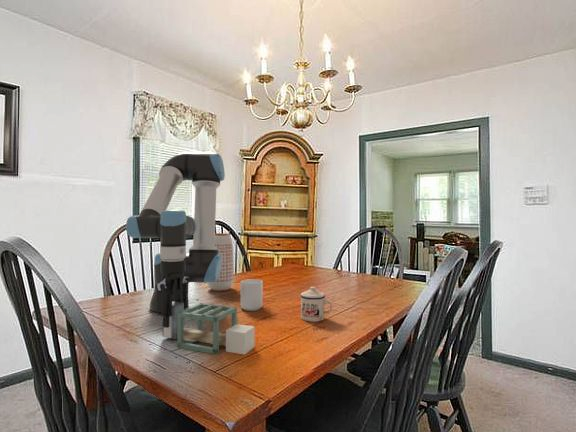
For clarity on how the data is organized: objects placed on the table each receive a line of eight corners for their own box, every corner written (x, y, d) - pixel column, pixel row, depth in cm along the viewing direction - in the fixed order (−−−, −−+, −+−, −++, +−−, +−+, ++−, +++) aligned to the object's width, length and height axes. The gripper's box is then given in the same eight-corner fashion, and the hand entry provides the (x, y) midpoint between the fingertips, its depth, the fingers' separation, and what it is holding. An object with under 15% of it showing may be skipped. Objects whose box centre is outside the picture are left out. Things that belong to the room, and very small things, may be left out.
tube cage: (177, 347, 104) (177, 312, 103) (200, 334, 114) (200, 303, 114) (216, 354, 99) (216, 317, 99) (236, 340, 109) (236, 307, 109)
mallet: (162, 336, 110) (162, 304, 110) (170, 332, 114) (170, 301, 114) (227, 347, 102) (227, 312, 101) (234, 342, 105) (234, 308, 105)
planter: (231, 292, 173) (231, 234, 173) (204, 292, 174) (204, 234, 173) (235, 286, 187) (235, 233, 186) (210, 286, 187) (210, 232, 187)
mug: (255, 312, 140) (255, 284, 140) (236, 309, 143) (236, 282, 143) (269, 305, 151) (269, 278, 151) (251, 302, 154) (251, 277, 154)
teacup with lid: (297, 320, 130) (297, 288, 129) (304, 313, 138) (304, 283, 138) (329, 324, 125) (329, 291, 125) (335, 317, 134) (335, 286, 134)
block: (225, 351, 101) (225, 330, 101) (236, 344, 107) (236, 324, 106) (244, 354, 99) (244, 333, 99) (254, 346, 104) (254, 326, 104)
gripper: (164, 264, 101) (164, 346, 102) (199, 257, 117) (199, 327, 117) (143, 262, 104) (143, 342, 104) (181, 255, 120) (181, 325, 120)
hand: (173, 334), depth 111 cm, fingers closed on mallet, 4 cm apart
